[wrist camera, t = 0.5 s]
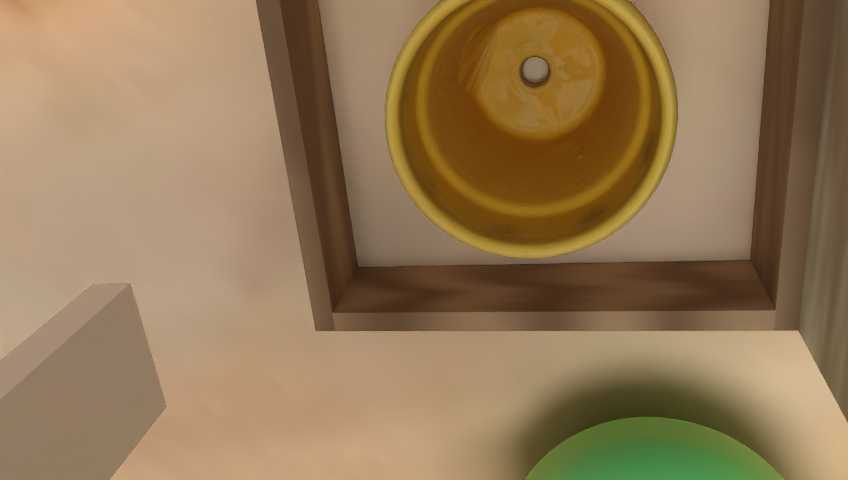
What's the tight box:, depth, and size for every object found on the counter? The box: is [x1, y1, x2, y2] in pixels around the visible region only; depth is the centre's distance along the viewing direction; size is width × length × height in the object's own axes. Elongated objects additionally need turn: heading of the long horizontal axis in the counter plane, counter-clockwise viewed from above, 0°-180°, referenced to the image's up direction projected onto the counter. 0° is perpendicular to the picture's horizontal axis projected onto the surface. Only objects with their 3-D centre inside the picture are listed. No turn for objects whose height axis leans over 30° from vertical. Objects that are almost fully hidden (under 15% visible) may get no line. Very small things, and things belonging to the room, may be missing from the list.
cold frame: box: [256, 0, 848, 422], centre depth 26 cm, size 23×22×20 cm
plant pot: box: [385, 0, 678, 258], centre depth 31 cm, size 10×10×10 cm
